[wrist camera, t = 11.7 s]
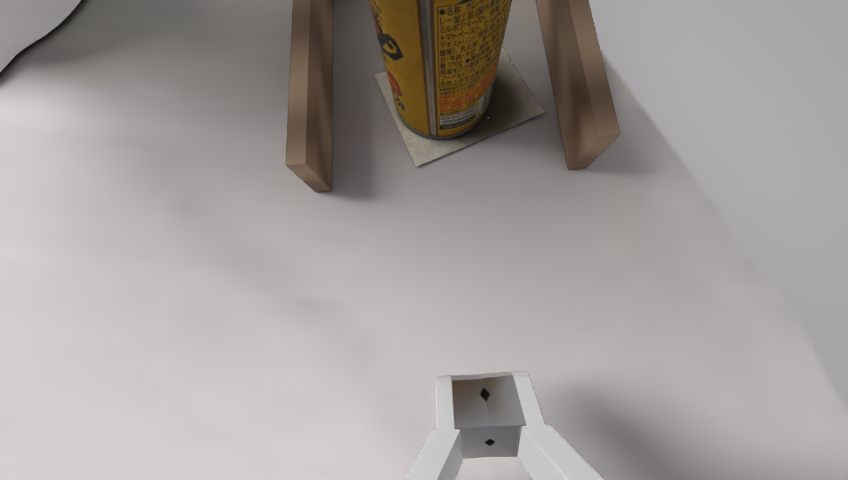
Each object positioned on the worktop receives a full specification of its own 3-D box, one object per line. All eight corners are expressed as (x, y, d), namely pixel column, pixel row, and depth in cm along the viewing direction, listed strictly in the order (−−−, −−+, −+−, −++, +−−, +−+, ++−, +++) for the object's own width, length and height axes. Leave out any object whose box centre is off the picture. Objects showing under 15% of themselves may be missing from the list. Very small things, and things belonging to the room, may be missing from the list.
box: (585, 168, 17) (620, 133, 14) (315, 192, 18) (285, 165, 15) (540, -52, 21) (559, -121, 18) (319, -24, 22) (296, -85, 19)
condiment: (374, 76, 20) (272, -259, 8) (491, 29, 20) (557, -364, 8) (415, 169, 18) (362, -87, 6) (543, 116, 18) (717, -225, 7)
